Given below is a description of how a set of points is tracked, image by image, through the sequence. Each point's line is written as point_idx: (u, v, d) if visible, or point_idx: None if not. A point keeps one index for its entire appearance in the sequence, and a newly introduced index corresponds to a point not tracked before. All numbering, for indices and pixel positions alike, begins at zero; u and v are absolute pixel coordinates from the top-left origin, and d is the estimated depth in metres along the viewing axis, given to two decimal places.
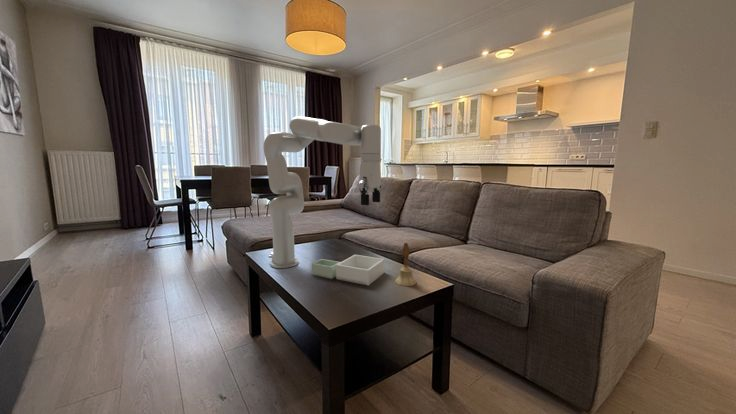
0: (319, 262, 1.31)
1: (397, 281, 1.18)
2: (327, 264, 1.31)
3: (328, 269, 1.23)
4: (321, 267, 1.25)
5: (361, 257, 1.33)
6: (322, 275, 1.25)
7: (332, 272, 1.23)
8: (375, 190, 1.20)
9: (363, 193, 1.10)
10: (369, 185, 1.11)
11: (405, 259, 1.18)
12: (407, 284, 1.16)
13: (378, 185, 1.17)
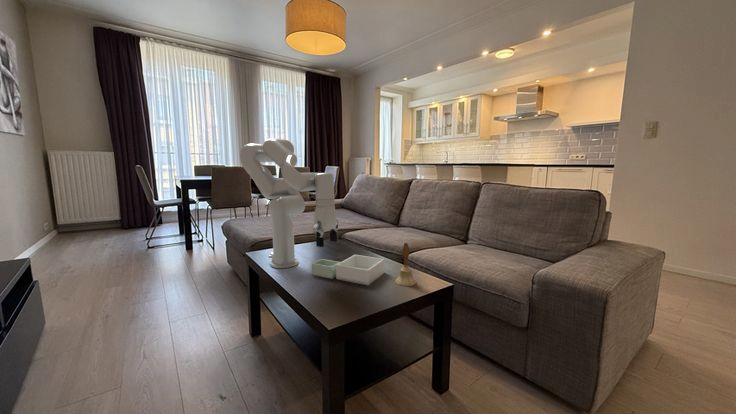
0: (319, 262, 1.31)
1: (397, 281, 1.18)
2: (327, 264, 1.31)
3: (328, 269, 1.23)
4: (321, 267, 1.25)
5: (361, 257, 1.33)
6: (322, 275, 1.25)
7: (332, 272, 1.23)
8: (332, 230, 1.30)
9: (317, 236, 1.20)
10: (323, 229, 1.20)
11: (405, 259, 1.18)
12: (407, 284, 1.16)
13: (333, 226, 1.26)
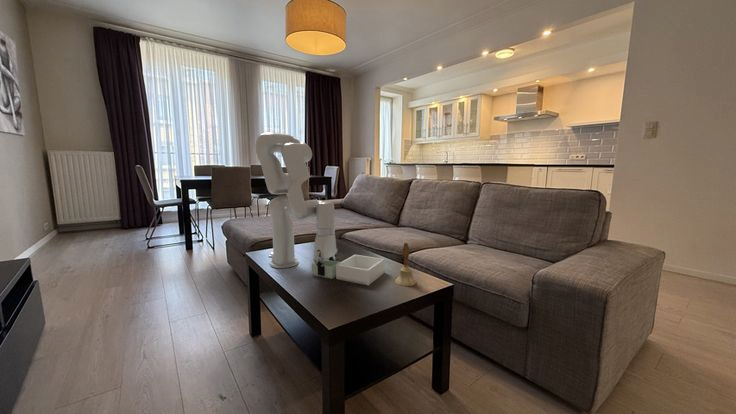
0: None
1: (397, 281, 1.18)
2: (327, 264, 1.31)
3: (328, 269, 1.23)
4: None
5: (361, 257, 1.33)
6: None
7: (332, 272, 1.23)
8: (330, 259, 1.31)
9: (319, 266, 1.23)
10: (323, 257, 1.22)
11: (405, 259, 1.18)
12: (407, 284, 1.16)
13: (333, 254, 1.28)
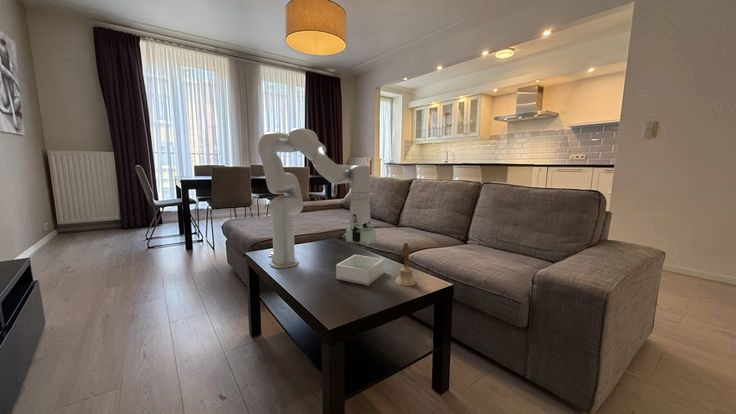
0: None
1: (397, 281, 1.18)
2: None
3: (364, 235, 1.19)
4: None
5: (361, 257, 1.33)
6: None
7: (368, 238, 1.19)
8: (364, 226, 1.27)
9: (354, 231, 1.19)
10: (358, 222, 1.18)
11: (405, 259, 1.18)
12: (407, 284, 1.16)
13: (367, 220, 1.24)
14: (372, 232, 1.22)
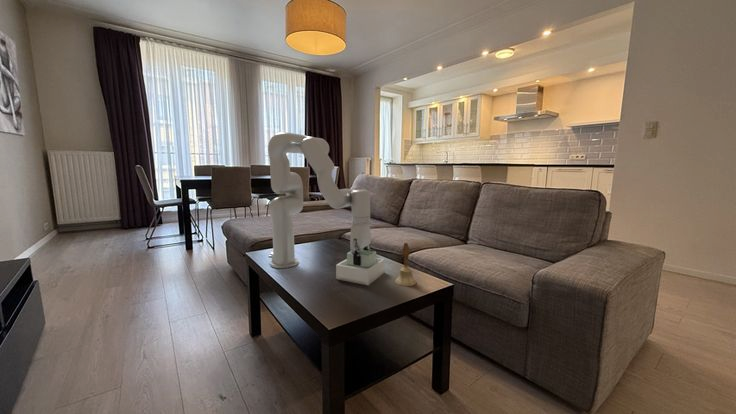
0: None
1: (397, 281, 1.18)
2: (361, 254, 1.28)
3: (365, 259, 1.20)
4: None
5: None
6: None
7: (369, 261, 1.20)
8: (365, 248, 1.28)
9: (355, 255, 1.20)
10: (359, 246, 1.19)
11: (405, 259, 1.18)
12: (407, 284, 1.16)
13: (368, 243, 1.26)
14: (373, 255, 1.23)
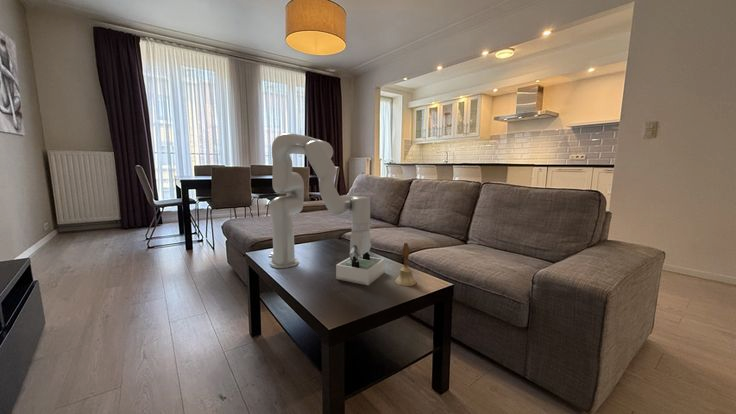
0: None
1: (397, 281, 1.18)
2: (361, 263, 1.29)
3: (364, 268, 1.21)
4: None
5: (361, 257, 1.33)
6: None
7: None
8: (365, 253, 1.30)
9: (353, 261, 1.20)
10: (359, 253, 1.20)
11: (405, 259, 1.18)
12: (407, 284, 1.16)
13: (368, 250, 1.26)
14: (372, 265, 1.24)
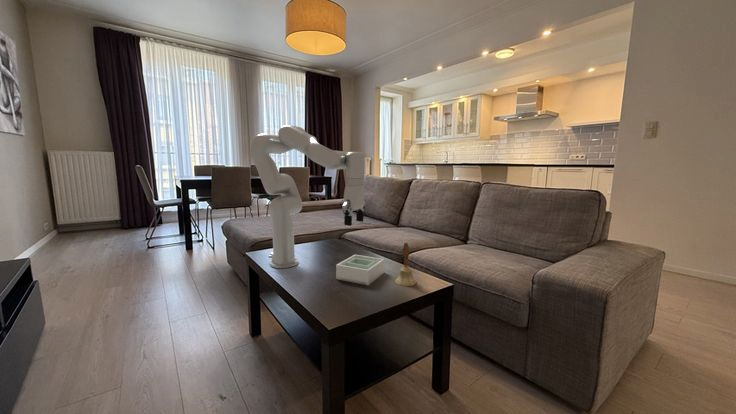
0: (353, 261, 1.29)
1: (397, 281, 1.18)
2: (361, 263, 1.29)
3: (364, 268, 1.21)
4: (356, 266, 1.23)
5: (361, 257, 1.33)
6: None
7: None
8: (359, 210, 1.30)
9: (346, 214, 1.20)
10: (352, 207, 1.21)
11: (405, 259, 1.18)
12: (407, 284, 1.16)
13: (361, 206, 1.27)
14: (372, 265, 1.24)
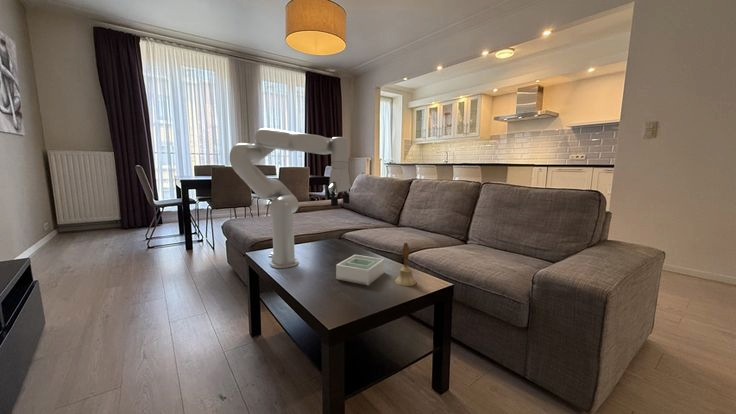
0: (353, 261, 1.29)
1: (397, 281, 1.18)
2: (361, 263, 1.29)
3: (364, 268, 1.21)
4: (356, 266, 1.23)
5: (361, 257, 1.33)
6: None
7: None
8: (345, 193, 1.39)
9: (332, 196, 1.29)
10: (338, 189, 1.29)
11: (405, 259, 1.18)
12: (407, 284, 1.16)
13: (347, 189, 1.35)
14: (372, 265, 1.24)
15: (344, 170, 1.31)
